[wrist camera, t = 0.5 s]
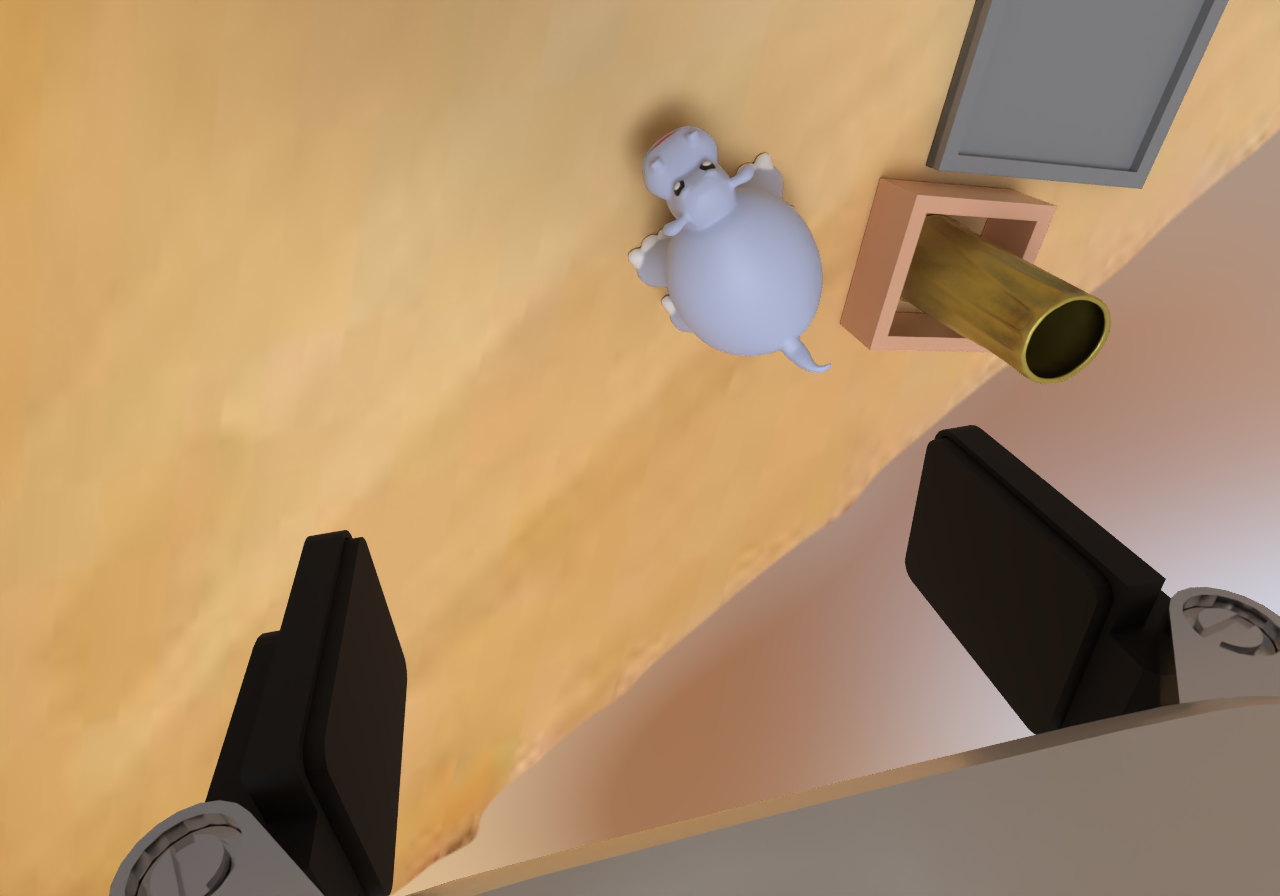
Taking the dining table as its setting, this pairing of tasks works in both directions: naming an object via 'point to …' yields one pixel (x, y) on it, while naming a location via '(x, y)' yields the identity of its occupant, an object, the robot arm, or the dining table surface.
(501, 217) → the dining table surface
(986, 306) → the vase
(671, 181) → the hippopotamus toy
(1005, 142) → the tray
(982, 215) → the pink square frame
